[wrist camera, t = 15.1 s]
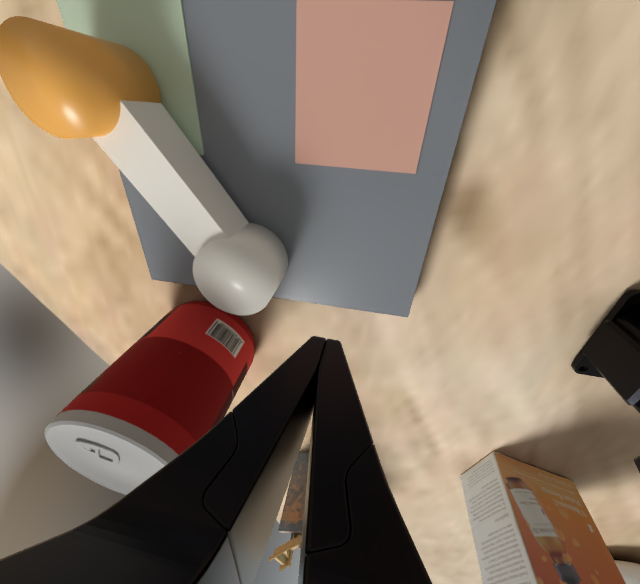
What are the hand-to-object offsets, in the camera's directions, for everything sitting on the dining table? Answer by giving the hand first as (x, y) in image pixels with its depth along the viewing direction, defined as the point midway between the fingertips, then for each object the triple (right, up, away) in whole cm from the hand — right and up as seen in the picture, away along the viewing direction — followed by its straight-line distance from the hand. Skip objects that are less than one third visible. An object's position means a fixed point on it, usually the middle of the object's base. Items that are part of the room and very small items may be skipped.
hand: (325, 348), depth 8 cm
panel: (-3, +11, +7) cm, 13 cm away
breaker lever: (-7, +8, +7) cm, 12 cm away
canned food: (-9, -2, +16) cm, 19 cm away
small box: (+19, -16, +19) cm, 31 cm away
